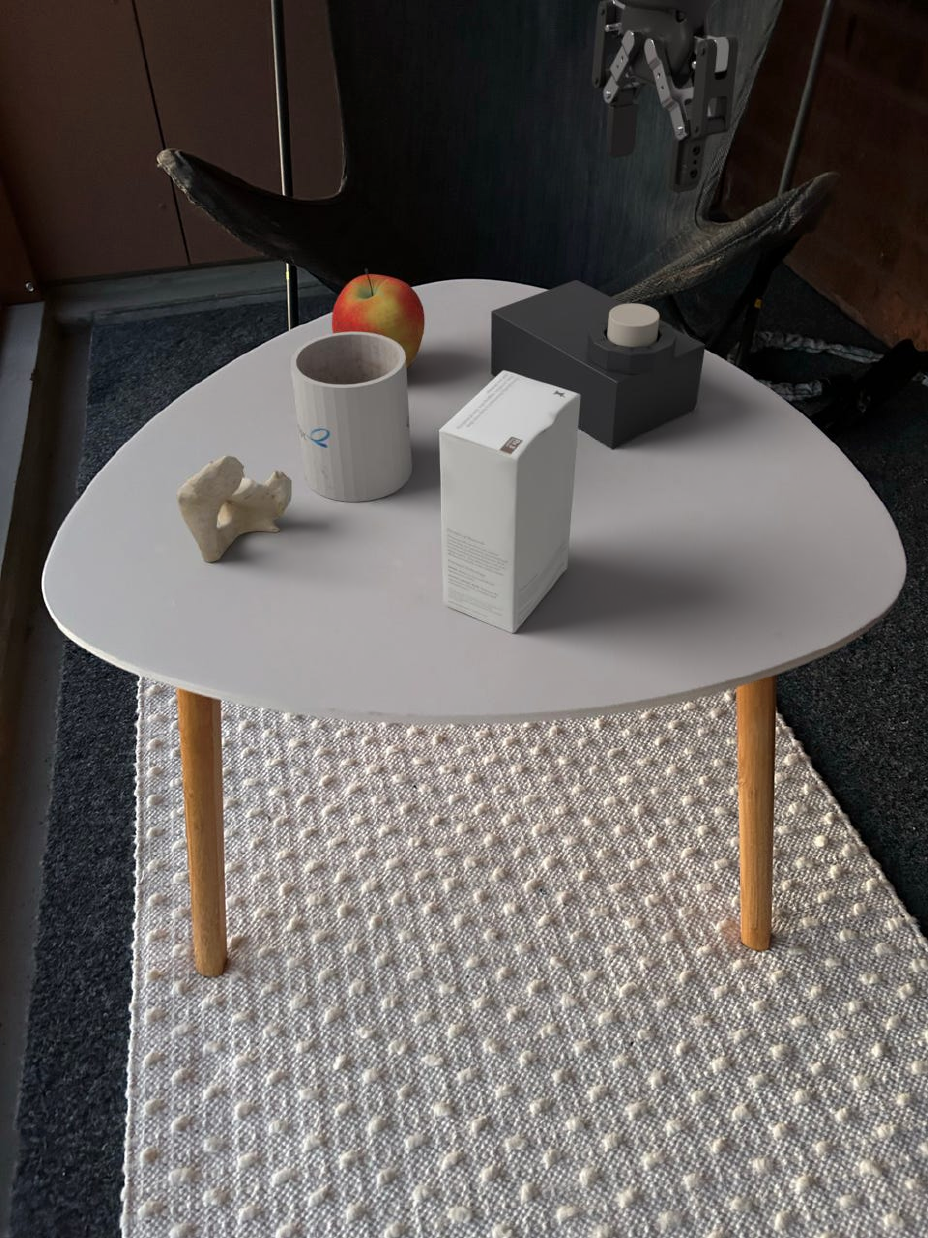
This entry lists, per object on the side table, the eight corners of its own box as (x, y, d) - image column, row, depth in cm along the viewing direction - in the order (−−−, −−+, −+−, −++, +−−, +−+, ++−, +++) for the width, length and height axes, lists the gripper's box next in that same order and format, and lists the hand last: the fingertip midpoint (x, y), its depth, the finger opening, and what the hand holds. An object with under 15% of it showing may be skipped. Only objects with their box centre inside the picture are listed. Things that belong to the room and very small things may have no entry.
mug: (421, 493, 85) (415, 379, 79) (311, 508, 84) (296, 394, 77) (393, 413, 94) (386, 305, 88) (294, 426, 93) (279, 317, 86)
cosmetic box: (499, 545, 80) (501, 364, 70) (572, 571, 78) (585, 387, 68) (439, 610, 75) (432, 423, 65) (515, 640, 72) (520, 451, 62)
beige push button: (667, 339, 88) (670, 315, 86) (631, 354, 86) (633, 330, 84) (632, 321, 90) (634, 298, 89) (596, 336, 88) (598, 312, 87)
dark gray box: (701, 412, 94) (714, 326, 88) (616, 452, 89) (625, 364, 84) (572, 341, 104) (577, 260, 98) (490, 374, 99) (490, 291, 94)
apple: (443, 375, 99) (440, 270, 92) (367, 402, 96) (358, 295, 89) (396, 341, 104) (390, 239, 97) (322, 365, 101) (310, 261, 94)
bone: (264, 466, 85) (271, 401, 76) (303, 534, 84) (315, 477, 75) (163, 508, 82) (157, 446, 73) (201, 580, 81) (201, 525, 72)
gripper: (790, -70, 67) (748, 193, 78) (661, -103, 77) (640, 136, 88) (689, -58, 65) (661, 212, 76) (570, -93, 75) (559, 151, 85)
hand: (650, 171), depth 82 cm, fingers open, 8 cm apart
